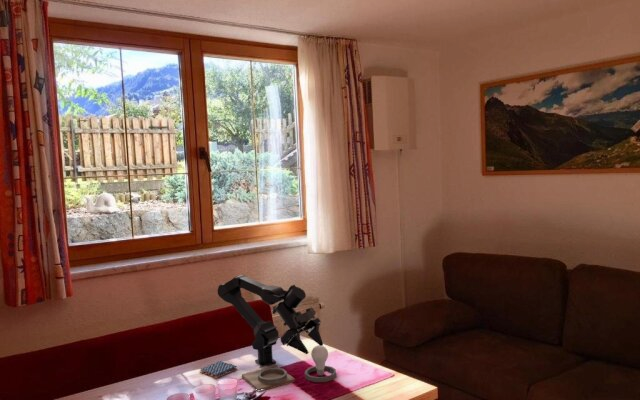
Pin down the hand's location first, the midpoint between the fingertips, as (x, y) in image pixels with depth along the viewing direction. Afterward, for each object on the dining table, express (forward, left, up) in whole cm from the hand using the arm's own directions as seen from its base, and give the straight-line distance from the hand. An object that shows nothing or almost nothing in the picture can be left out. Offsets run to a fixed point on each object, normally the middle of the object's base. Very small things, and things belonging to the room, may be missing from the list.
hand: (315, 349), depth 180 cm
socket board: (-7, -16, -9) cm, 20 cm away
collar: (+2, +1, -9) cm, 10 cm away
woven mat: (-25, -28, -10) cm, 39 cm away
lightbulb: (+2, +1, -10) cm, 10 cm away
